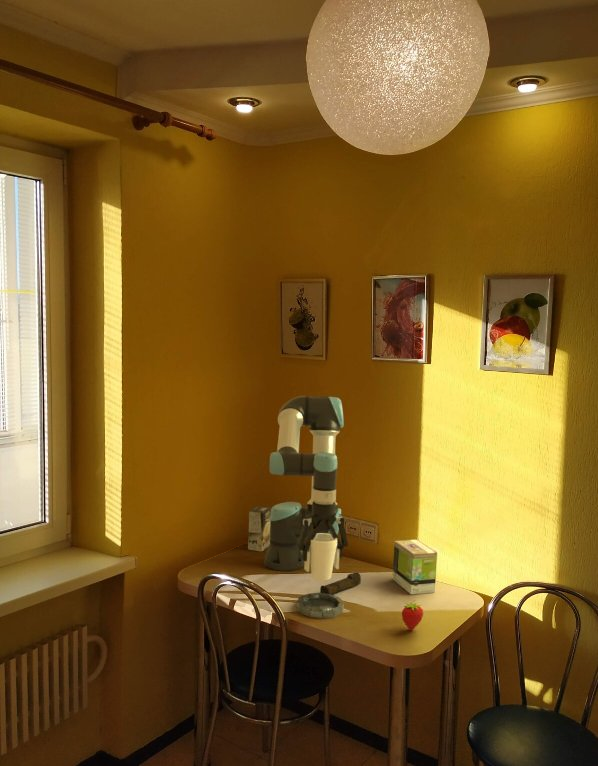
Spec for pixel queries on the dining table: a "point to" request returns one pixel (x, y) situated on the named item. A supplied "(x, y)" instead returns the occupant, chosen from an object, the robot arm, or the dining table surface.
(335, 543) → the foam cup
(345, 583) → the hand tool
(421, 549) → the tea box
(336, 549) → the robot arm
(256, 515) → the coffee box
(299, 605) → the grey shallow round dish
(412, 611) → the strawberry
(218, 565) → the dining table surface
